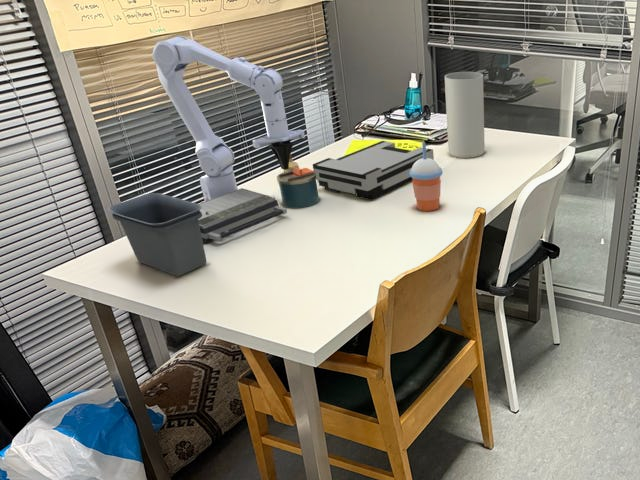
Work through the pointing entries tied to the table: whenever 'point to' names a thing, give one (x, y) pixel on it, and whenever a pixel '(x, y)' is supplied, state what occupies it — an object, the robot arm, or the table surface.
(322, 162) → the game console
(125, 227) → the storage bin
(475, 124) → the cylinder vase
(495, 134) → the table surface
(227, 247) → the table surface
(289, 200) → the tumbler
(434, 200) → the cup with straw
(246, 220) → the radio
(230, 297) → the table surface
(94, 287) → the table surface
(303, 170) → the slider
